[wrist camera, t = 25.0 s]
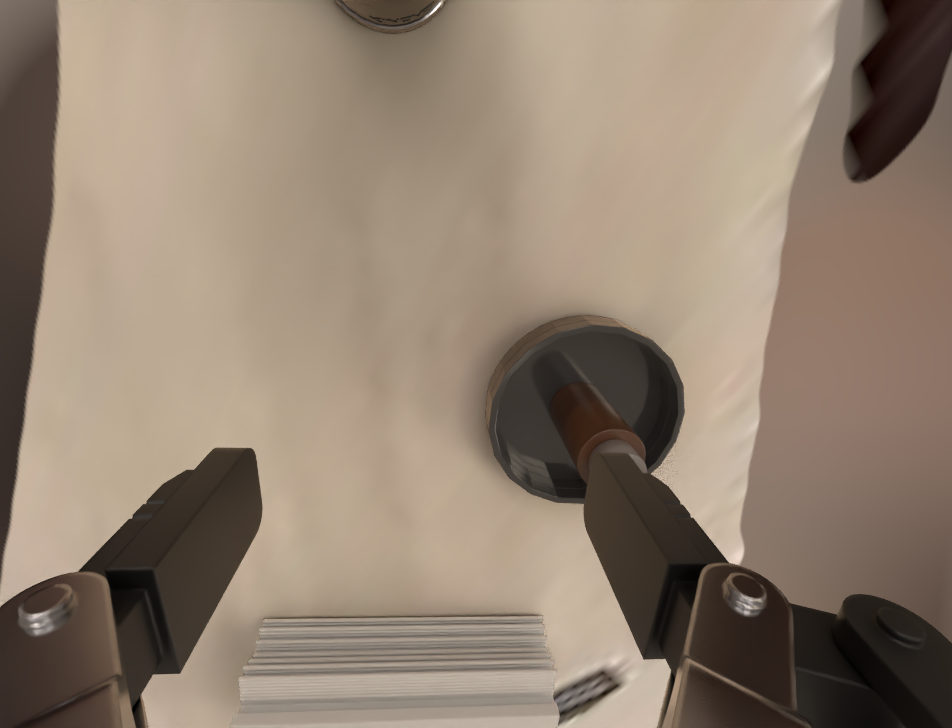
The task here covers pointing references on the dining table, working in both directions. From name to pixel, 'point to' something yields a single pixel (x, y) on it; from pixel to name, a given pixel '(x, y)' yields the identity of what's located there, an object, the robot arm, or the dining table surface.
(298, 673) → the aluminum extrusion profile
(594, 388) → the pepper mill
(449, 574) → the dining table surface
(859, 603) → the robot arm
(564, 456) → the pan
